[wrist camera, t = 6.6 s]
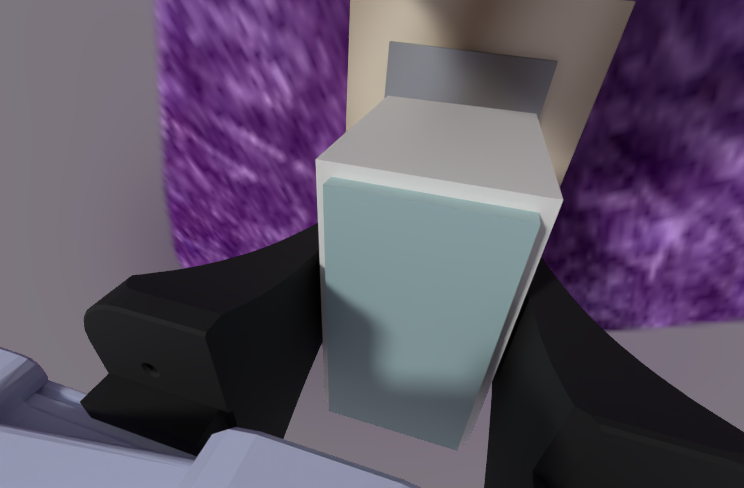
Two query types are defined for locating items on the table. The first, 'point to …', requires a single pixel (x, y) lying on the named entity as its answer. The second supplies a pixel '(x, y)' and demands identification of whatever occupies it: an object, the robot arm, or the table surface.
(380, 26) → the stand
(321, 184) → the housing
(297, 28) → the table surface
